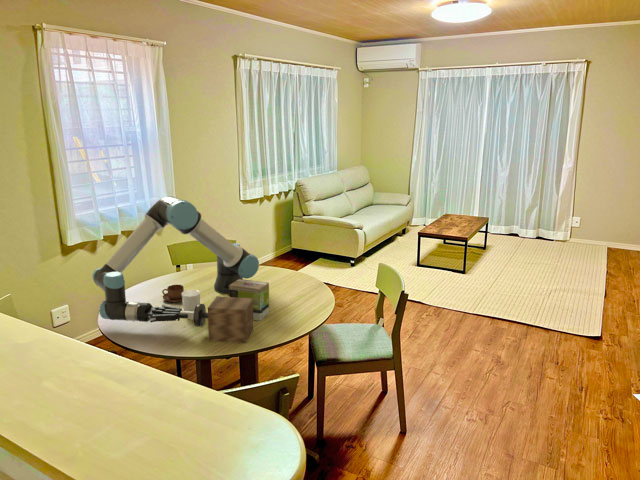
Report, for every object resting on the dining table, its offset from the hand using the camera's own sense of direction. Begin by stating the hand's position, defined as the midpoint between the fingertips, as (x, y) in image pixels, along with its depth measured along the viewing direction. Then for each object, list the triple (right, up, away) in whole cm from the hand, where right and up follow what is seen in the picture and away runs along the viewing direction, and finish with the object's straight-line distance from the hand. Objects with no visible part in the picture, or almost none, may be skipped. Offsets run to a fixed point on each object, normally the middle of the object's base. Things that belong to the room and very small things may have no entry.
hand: (196, 315), depth 191 cm
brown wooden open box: (+14, -8, +1) cm, 16 cm away
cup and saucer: (-19, +2, +37) cm, 42 cm away
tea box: (+18, -3, +21) cm, 28 cm away
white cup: (-7, -3, +20) cm, 22 cm away
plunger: (+8, -5, +1) cm, 9 cm away
